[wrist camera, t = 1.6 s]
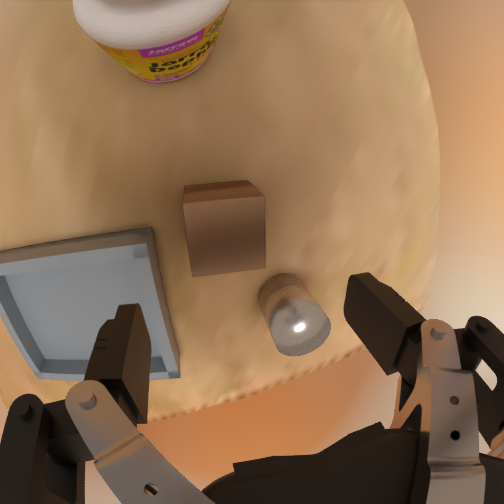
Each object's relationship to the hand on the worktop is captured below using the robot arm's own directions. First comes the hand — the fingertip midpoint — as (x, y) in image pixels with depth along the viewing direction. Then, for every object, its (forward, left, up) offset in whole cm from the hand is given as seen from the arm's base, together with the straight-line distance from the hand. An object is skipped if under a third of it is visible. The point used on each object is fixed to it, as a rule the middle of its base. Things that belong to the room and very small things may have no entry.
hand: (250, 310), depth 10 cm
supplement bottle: (-13, -3, -12) cm, 18 cm away
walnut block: (0, 0, -12) cm, 12 cm away
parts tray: (+7, -13, -12) cm, 19 cm away
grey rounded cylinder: (+8, +5, -12) cm, 15 cm away
